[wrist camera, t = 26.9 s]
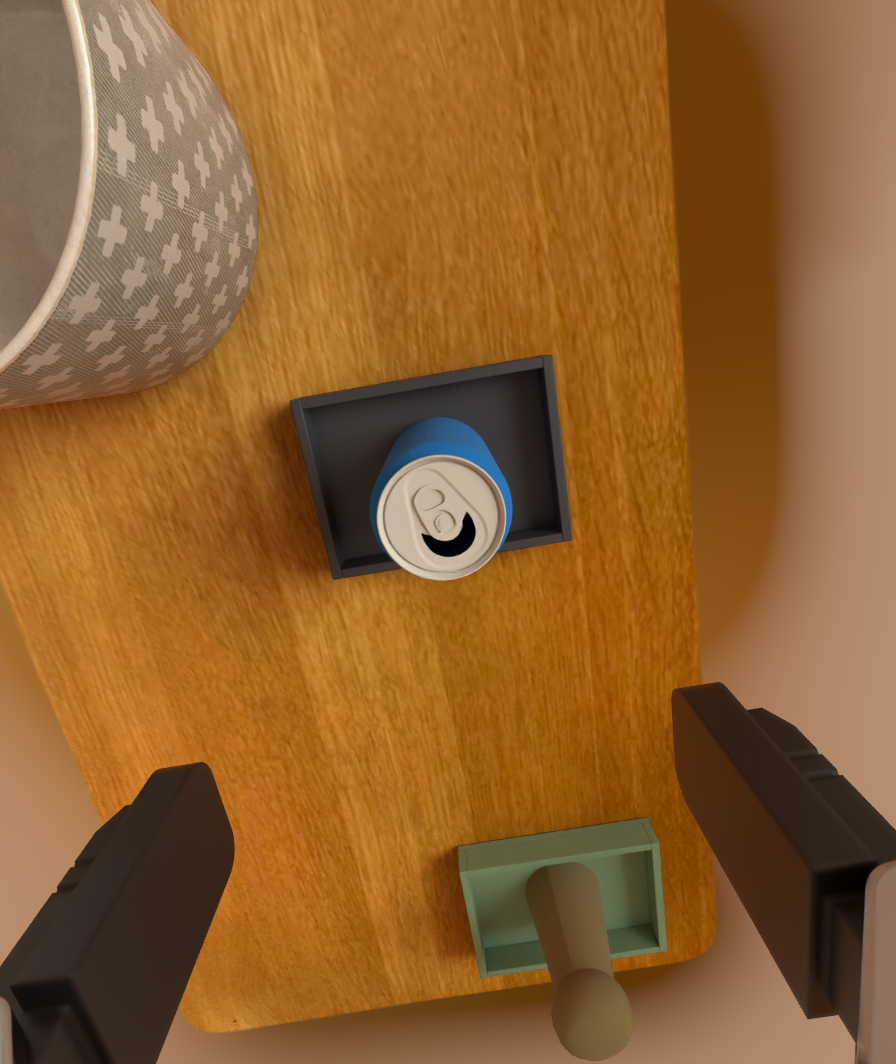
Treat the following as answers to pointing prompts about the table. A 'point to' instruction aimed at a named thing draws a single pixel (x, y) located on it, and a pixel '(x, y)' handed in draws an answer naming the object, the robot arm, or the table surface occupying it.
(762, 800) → the robot arm
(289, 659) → the table surface
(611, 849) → the green tray
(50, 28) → the planter
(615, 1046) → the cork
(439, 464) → the beverage can
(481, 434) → the charcoal tray
